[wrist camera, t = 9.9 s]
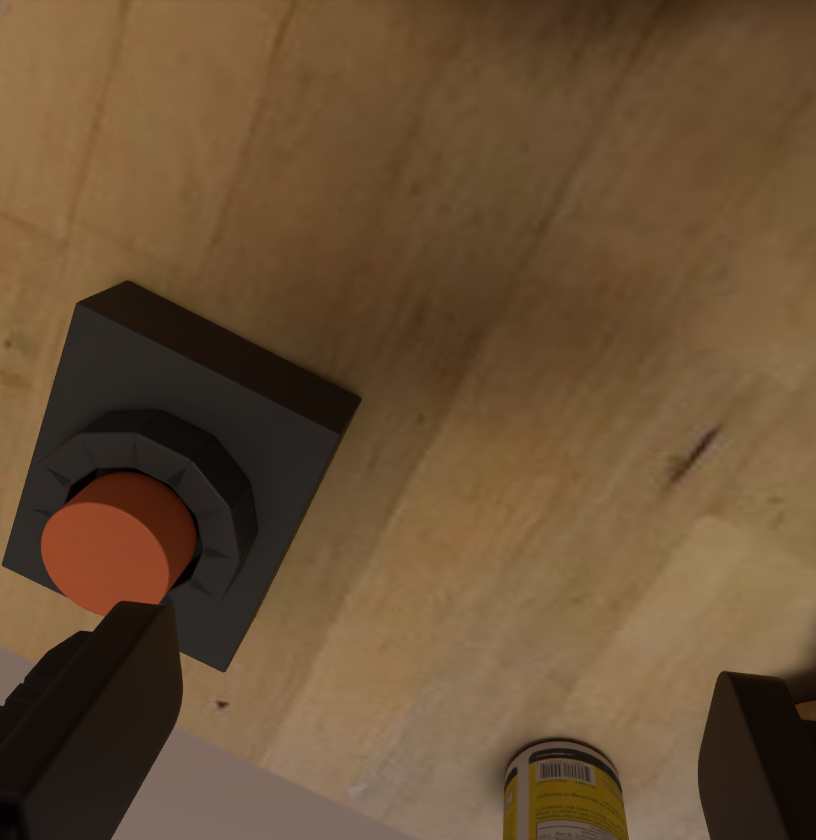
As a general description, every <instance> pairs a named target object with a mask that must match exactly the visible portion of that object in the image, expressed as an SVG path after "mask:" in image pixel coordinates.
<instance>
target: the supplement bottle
mask: <svg viewBox="0 0 816 840" xmlns="http://www.w3.org/2000/svg"><path fill="white" fill-rule="evenodd" d="M503 840H629V837H628V831H627V824H626V817H625V810H624V803H623V798H622V790H621V785H620V781H619V778H618V775H617V773H616V771H615V769H614V768H613V766H612V765H611V764H610V763H609V762H608V761H607V760H606V759H605V758H604V757H602V756H601V755H600V754H598V753H597V752H595V751H593V750H591V749H590V748H587V747H585V746H582V745H579V744H576V743H571V742H562V741H554V742H545V743H542V744H538V745H535V746H533V747H531V748H528V749H527V750H525V751H524V752H522V753H521V754H520V755H519V756H518V757H516V758H515V760H514V761H513V762H512V763H511V765H510V766H509V768H508V770H507V773H506V777H505V786H504V823H503Z"/></svg>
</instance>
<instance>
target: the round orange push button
mask: <svg viewBox="0 0 816 840" xmlns="http://www.w3.org/2000/svg"><path fill="white" fill-rule="evenodd" d="M195 548H196V529H195V525H194V521H193V519H192V516H191V514H190V512H189V510H188V509H187V507H186V505H185V504H184V503H183V501H182V500H181V499H180V498H179V497H178V496H177V495H176V494H175V493H174V492H173V491H172V490H171V489H170V488H168V487H167V486H166V485H164V484H163V483H161V482H159V481H157V480H156V479H154V478H151V477H149V476H146V475H143V474H140V473H134V472H113V473H108V474H105V475H103V476H100V477H98V478H97V479H95V480H93V481H92V482H91V483H90V484H88V485H87V486H86V487H85V488H84V489H83V490H82V491H80V492H79V493H78V494H77V495H76V496H75V497H73V498H72V499H71V500H70V501H69V502H68V503H66V504H65V505H64V506H63V507H62V508H61V509H59V510H58V511H57V512H56V513H55V514H54V515H53V516H52V517H51V518H50V519H49V521H48V522H47V524H46V526H45V528H44V531H43V534H42V539H41V553H42V558H43V562H44V565H45V567H46V570H47V572H48V574H49V575H50V577H51V579H52V580H53V582H54V583H55V584H56V586H57V587H58V588H59V589H60V590H61V591H62V592H63V593H64V594H65V595H66V596H67V597H68V598H69V599H71V600H72V601H73V602H75V603H76V604H78V605H79V606H81V607H83V608H84V609H86V610H88V611H91V612H93V613H96V614H99V615H102V616H106V615H107V614H108V613H109V611H110V610H111V609H112V608H113V607H114V606H115V605H116V604H117V603H118V602H120V601H132V602H140V603H149V604H159V603H160V602H161V600H162V599H163V598H164V596H165V595H166V594H167V592H168V591H169V590H170V588H171V587H172V585H173V584H174V583H175V581H176V580H177V579H178V577H179V576H180V575H181V573H182V572H183V571H184V569H185V568H186V567H187V565H188V564H189V563H190V561H191V559H192V557H193V555H194V552H195Z"/></svg>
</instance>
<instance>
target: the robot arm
mask: <svg viewBox="0 0 816 840" xmlns="http://www.w3.org/2000/svg"><path fill="white" fill-rule="evenodd" d="M182 696H183V680H182V671H181V662H180V653H179V644H178V634H177V625H176V617H175V613H174V611H173V609H172V608H171V607H170V606H166V605H158V604H149V603H140V602H132V601H120V602H118V603H117V604H116V605H115V606H114V607H113V608H112V609H111V610H110V611H109V613H108V614H107V615H106V616H105V618H104V619H103V620H102V621H101V622H100V624H99V625H98V626H97V627H96V629H95V630H94V631H93V632H88V631H79V632H77V633H76V634H74V635H73V636H71V637H69V638H68V639H66V640H65V641H63V642H62V643H60V644H59V645H57V646H56V647H54V648H52V649H51V650H49V651H48V652H47V653H46V654H45V655H44V656H43V657H42V659H41V660H40V661H39V662H38V663H37V664H36V666H35V667H34V668H33V669H32V670H31V671H30V672H29V674H28V675H27V676H26V677H25V680H24V683H23V684H22V683H20V684H19V685H18V686H17V687H16V689H15V690H14V691H13V692H12V693H11V694H10V695H9V697H8V698H7V699H6V701H5V705H4V706H0V840H111V838H112V836H113V835H114V833H115V831H116V829H117V827H118V826H119V824H120V822H121V820H122V819H123V817H124V815H125V813H126V811H127V810H128V808H129V806H130V804H131V803H132V801H133V799H134V797H135V796H136V794H137V792H138V790H139V788H140V787H141V785H142V783H143V781H144V780H145V778H146V776H147V774H148V772H149V771H150V769H151V767H152V765H153V764H154V762H155V760H156V758H157V756H158V755H159V753H160V751H161V749H162V748H163V746H164V744H165V742H166V740H167V739H168V737H169V735H170V733H171V732H172V730H173V728H174V726H175V723H176V721H177V718H178V715H179V712H180V708H181V703H182ZM698 785H699V794H700V799H701V804H702V808H703V812H704V816H705V820H706V823H707V827H708V831H709V835H710V839H711V840H816V721H813V720H804V719H801V718H800V715H799V713H798V711H797V709H796V707H795V704H794V702H793V700H792V698H791V696H790V693H789V691H788V689H787V687H786V685H785V683H784V682H783V680H782V679H780V678H778V677H772V676H763V675H754V674H745V673H737V672H728V671H722V672H721V673H720V674H719V676H718V678H717V681H716V685H715V689H714V693H713V697H712V702H711V706H710V710H709V714H708V719H707V723H706V727H705V731H704V736H703V740H702V744H701V748H700V753H699V761H698Z"/></svg>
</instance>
